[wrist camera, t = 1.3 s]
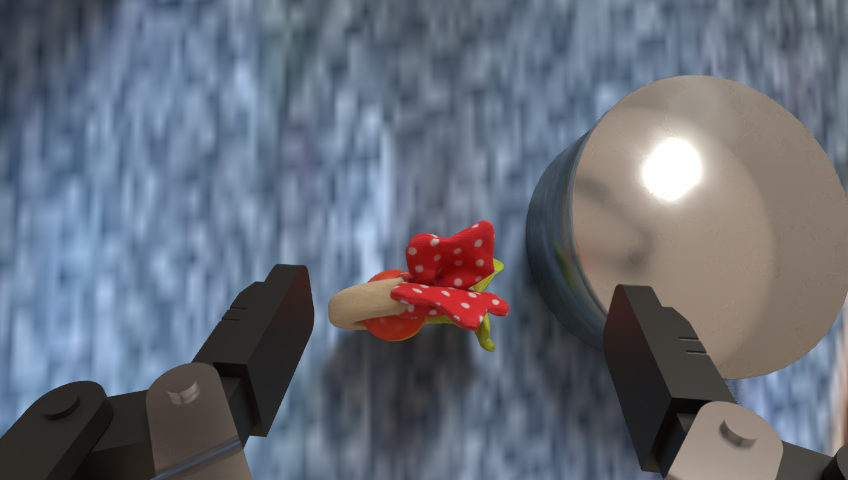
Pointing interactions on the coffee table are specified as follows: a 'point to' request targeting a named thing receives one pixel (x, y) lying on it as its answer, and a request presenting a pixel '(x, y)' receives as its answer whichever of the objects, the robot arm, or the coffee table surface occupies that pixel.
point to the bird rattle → (428, 289)
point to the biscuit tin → (697, 222)
